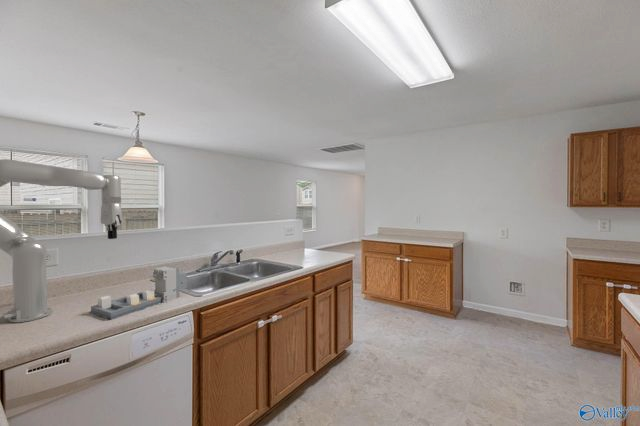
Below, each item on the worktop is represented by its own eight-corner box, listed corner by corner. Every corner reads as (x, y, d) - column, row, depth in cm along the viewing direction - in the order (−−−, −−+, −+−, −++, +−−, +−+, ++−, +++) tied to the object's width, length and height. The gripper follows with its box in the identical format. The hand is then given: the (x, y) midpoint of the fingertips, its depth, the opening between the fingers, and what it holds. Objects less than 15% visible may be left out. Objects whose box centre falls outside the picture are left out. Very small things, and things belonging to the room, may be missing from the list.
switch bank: (111, 319, 112) (110, 312, 112) (91, 312, 119) (90, 306, 119) (160, 302, 131) (160, 296, 131) (141, 297, 138) (141, 291, 138)
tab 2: (130, 307, 121) (130, 296, 121) (126, 306, 122) (126, 295, 122) (139, 305, 124) (139, 293, 124) (135, 303, 125) (134, 292, 125)
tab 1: (102, 309, 118) (101, 298, 118) (98, 308, 120) (97, 297, 119) (111, 307, 121) (111, 295, 121) (107, 306, 123) (107, 294, 123)
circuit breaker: (189, 293, 145) (189, 264, 144) (164, 302, 132) (163, 270, 131) (179, 291, 148) (179, 263, 147) (153, 300, 135) (153, 269, 134)
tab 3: (147, 302, 127) (146, 291, 127) (142, 301, 129) (142, 290, 128) (154, 300, 130) (154, 289, 130) (150, 299, 132) (150, 288, 132)
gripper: (94, 200, 136) (95, 238, 136) (111, 200, 129) (112, 240, 130) (111, 200, 142) (112, 236, 143) (128, 201, 136) (129, 238, 137)
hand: (112, 238), depth 136 cm, fingers closed
